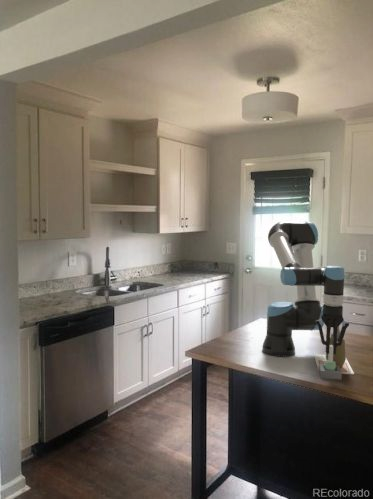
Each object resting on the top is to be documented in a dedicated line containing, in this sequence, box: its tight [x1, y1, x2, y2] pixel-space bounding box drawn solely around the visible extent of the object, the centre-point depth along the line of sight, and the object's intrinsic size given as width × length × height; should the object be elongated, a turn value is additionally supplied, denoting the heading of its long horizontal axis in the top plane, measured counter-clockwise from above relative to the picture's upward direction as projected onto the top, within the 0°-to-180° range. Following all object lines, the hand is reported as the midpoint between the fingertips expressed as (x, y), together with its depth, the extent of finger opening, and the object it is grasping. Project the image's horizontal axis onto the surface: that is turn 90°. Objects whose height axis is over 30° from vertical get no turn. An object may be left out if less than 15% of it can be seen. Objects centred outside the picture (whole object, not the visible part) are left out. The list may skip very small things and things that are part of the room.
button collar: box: [317, 364, 343, 381], centre depth 172 cm, size 8×8×3 cm
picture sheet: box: [313, 353, 355, 375], centre depth 185 cm, size 14×21×1 cm, turn 169°
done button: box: [324, 360, 336, 371], centre depth 172 cm, size 4×4×5 cm
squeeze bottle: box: [325, 325, 347, 368], centre depth 180 cm, size 8×8×18 cm
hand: (330, 361), depth 172 cm, fingers closed
